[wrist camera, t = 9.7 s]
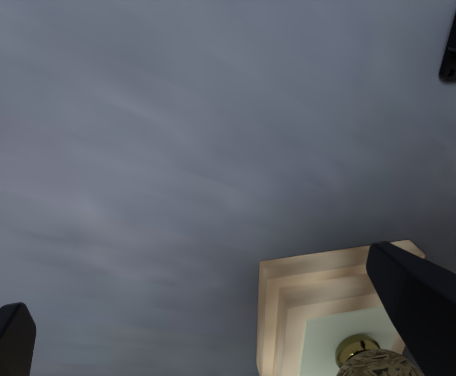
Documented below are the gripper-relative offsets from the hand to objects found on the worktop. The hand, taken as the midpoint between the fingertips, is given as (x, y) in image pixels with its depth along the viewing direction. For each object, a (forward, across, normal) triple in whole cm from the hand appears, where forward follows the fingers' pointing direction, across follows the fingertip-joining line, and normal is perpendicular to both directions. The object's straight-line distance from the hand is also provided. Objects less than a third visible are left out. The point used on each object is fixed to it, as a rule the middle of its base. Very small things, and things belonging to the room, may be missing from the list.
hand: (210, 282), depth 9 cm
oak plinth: (+13, -11, +18) cm, 25 cm away
